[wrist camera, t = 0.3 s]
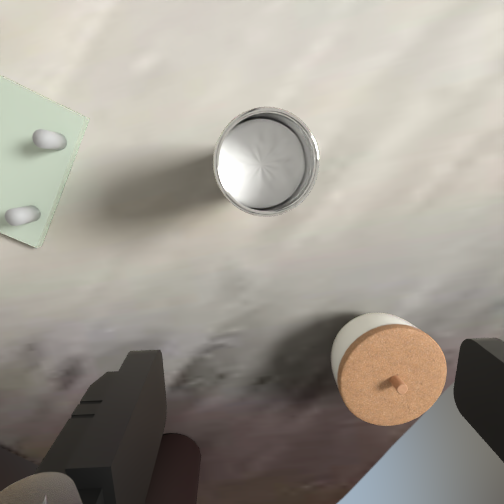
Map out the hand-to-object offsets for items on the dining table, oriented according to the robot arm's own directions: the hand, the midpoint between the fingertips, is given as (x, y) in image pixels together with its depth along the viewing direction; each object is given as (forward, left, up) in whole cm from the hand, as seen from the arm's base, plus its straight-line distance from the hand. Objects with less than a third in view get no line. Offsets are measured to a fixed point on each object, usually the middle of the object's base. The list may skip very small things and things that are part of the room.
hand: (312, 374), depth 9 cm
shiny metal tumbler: (-6, +1, -29) cm, 29 cm away
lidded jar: (+15, +13, -29) cm, 35 cm away
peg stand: (-9, -24, -29) cm, 39 cm away
